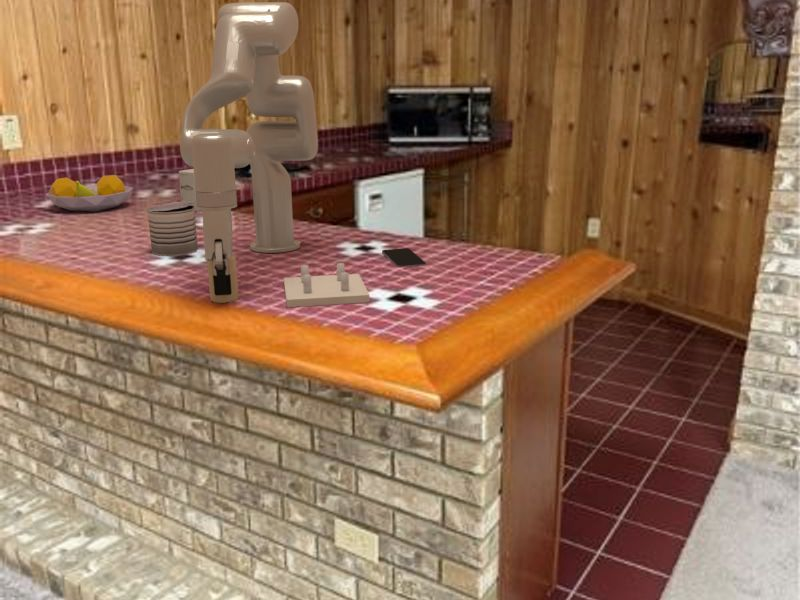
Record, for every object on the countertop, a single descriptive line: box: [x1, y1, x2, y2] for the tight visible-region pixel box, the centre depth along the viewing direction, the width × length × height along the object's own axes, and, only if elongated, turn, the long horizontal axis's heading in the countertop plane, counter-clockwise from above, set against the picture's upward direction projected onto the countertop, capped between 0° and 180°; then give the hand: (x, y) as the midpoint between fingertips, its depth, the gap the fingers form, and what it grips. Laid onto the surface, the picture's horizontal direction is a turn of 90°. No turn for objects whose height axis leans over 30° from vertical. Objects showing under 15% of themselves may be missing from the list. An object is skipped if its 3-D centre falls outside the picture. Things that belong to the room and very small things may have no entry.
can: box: [146, 201, 199, 257], centre depth 186 cm, size 11×11×12 cm
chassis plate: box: [283, 262, 371, 308], centre depth 150 cm, size 16×16×5 cm
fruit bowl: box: [45, 174, 134, 212], centre depth 245 cm, size 28×27×11 cm
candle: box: [206, 253, 240, 304], centre depth 146 cm, size 6×6×10 cm
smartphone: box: [381, 247, 427, 268], centre depth 178 cm, size 7×1×15 cm
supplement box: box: [178, 168, 201, 212], centre depth 243 cm, size 7×7×13 cm
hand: (223, 289), depth 147 cm, fingers closed on candle, 5 cm apart
